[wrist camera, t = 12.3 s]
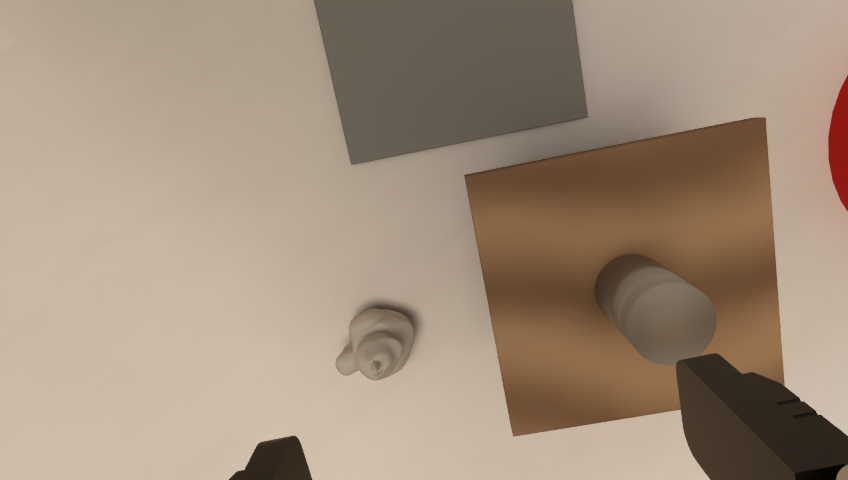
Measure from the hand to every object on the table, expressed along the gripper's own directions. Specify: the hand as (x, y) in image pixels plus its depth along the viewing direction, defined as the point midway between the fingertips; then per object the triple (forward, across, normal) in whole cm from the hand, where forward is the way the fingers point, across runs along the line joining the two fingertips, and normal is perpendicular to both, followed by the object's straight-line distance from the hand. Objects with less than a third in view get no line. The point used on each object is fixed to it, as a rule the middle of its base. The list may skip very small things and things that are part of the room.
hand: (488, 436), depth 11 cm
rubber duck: (+32, +8, +10) cm, 34 cm away
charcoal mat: (+32, -3, -13) cm, 35 cm away
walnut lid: (+17, -8, +4) cm, 19 cm away
